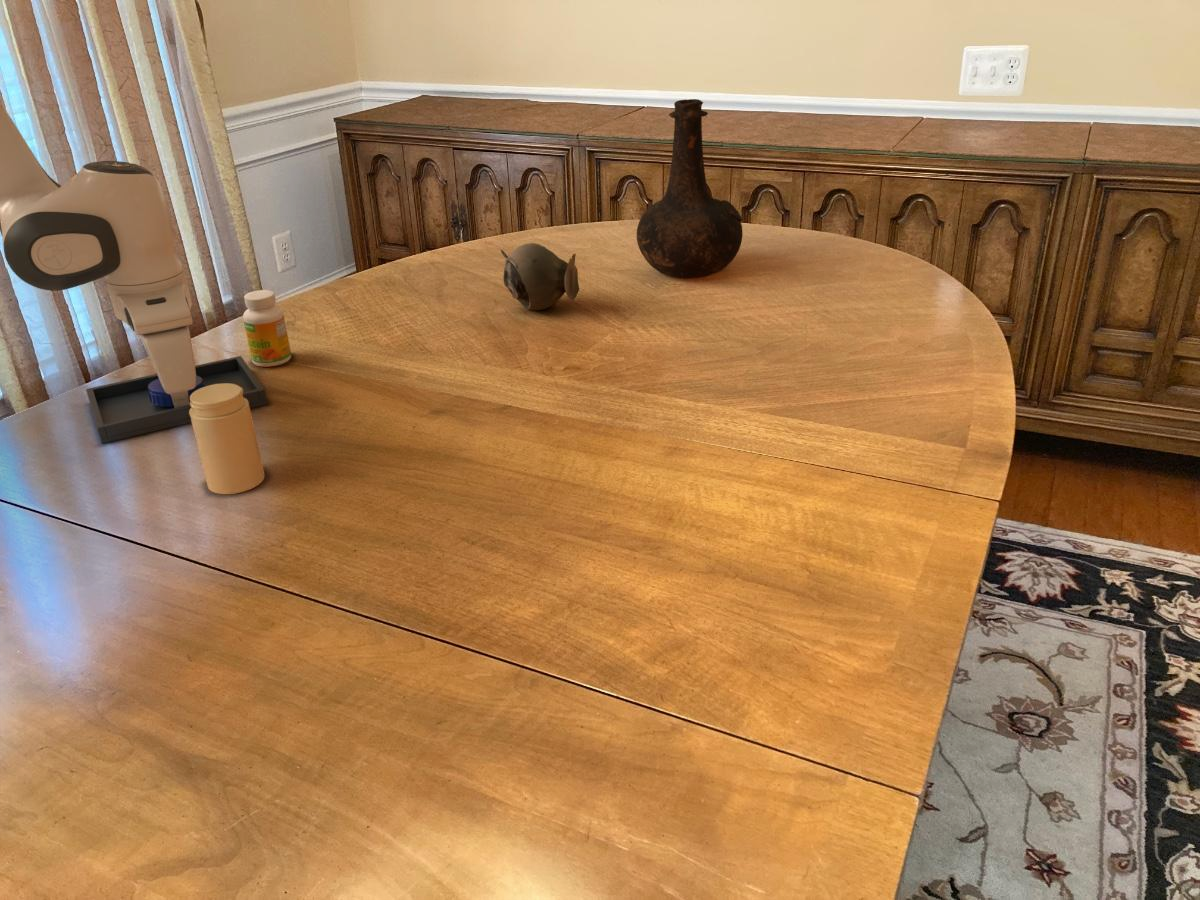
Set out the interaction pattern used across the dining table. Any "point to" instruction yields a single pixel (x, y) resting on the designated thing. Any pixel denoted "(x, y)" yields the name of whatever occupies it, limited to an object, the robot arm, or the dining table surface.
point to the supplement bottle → (266, 329)
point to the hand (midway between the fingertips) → (177, 399)
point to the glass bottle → (689, 210)
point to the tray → (133, 414)
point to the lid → (164, 399)
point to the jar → (226, 438)
